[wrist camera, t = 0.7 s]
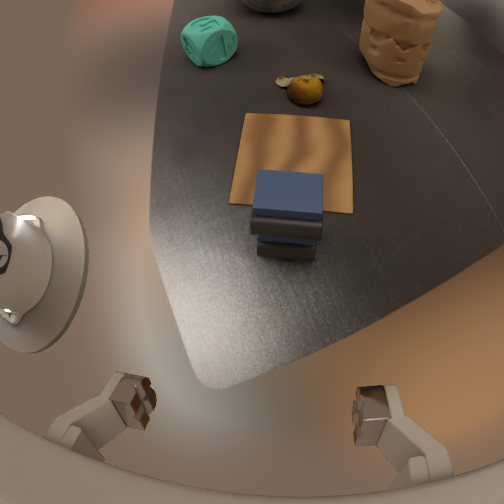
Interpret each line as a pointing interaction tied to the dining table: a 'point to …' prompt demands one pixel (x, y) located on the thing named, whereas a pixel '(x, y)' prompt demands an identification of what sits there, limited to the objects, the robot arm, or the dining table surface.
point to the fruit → (303, 88)
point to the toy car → (287, 214)
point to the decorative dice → (209, 40)
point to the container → (398, 37)
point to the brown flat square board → (296, 155)
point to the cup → (271, 5)
